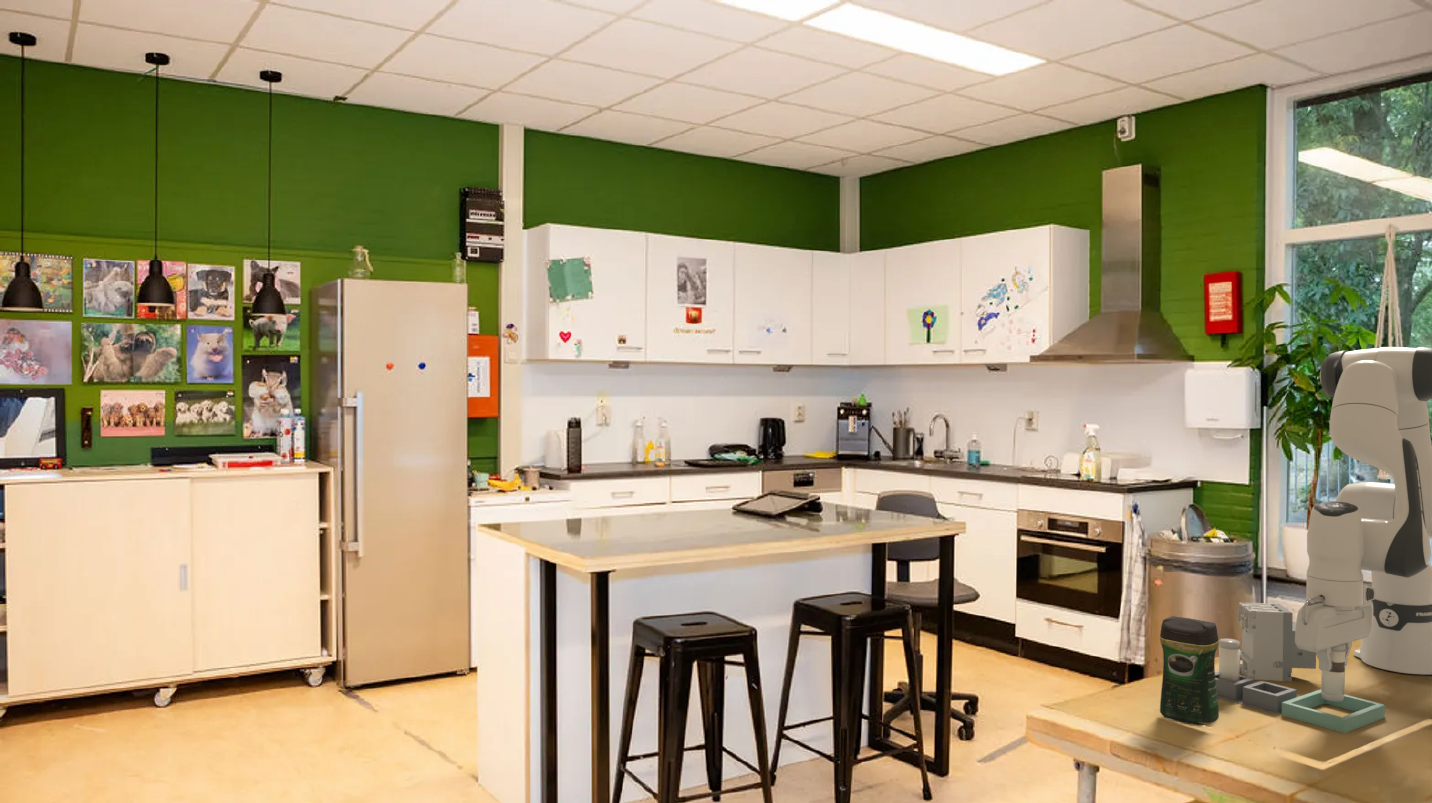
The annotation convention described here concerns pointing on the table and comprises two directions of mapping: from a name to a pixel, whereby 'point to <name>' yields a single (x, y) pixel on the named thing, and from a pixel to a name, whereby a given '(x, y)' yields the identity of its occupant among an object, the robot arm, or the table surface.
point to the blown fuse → (1334, 676)
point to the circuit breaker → (1270, 643)
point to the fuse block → (1254, 693)
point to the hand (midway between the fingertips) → (1333, 668)
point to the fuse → (1229, 660)
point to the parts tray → (1301, 711)
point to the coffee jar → (1189, 670)
